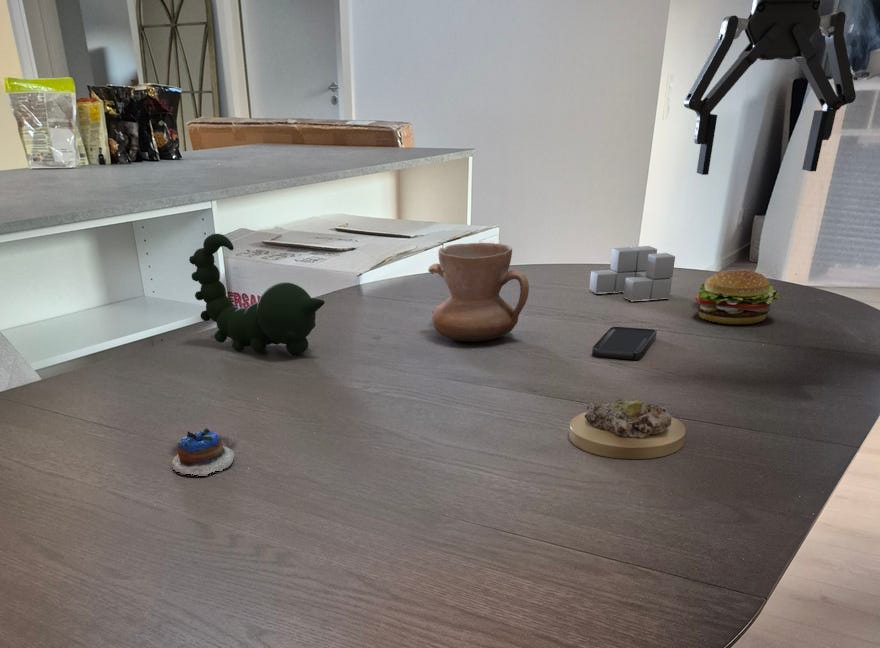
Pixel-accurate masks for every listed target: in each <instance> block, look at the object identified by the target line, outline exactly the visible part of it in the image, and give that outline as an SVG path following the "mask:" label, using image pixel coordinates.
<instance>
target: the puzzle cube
mask: <svg viewBox="0 0 880 648" xmlns="http://www.w3.org/2000/svg"><path fill="white" fill-rule="evenodd" d="M675 261H676V256H675V255H673V254H671V253H668V252H658V249H657V248H655V247H653V246H651V245H642V246H641V245H640V246H625V247H613V248H612V249H611V257H610V266H609V267H610V268H609V269H610V270H609V269H602V270H592V271H590V279H589V289H591V290H592V291H594V292H596V293H598V292H614V291H615V292H619V291H624V293H623V298H624V297H626V298H628V299H629V300H642V299H660V298H669V299H670V297H671V290H672V283H673V279H672V278H673V275H674V268H675Z"/></svg>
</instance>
